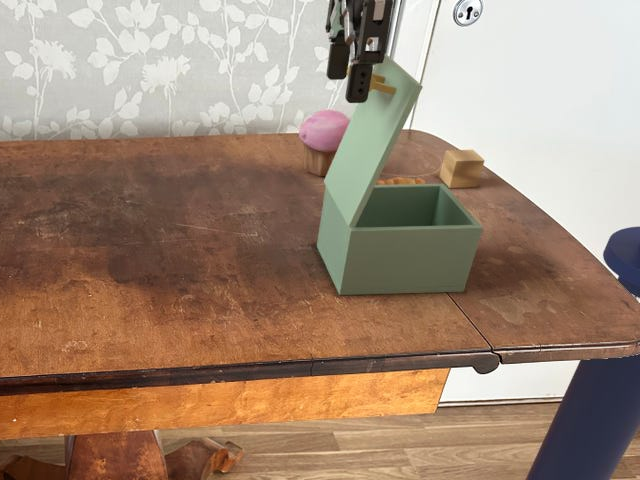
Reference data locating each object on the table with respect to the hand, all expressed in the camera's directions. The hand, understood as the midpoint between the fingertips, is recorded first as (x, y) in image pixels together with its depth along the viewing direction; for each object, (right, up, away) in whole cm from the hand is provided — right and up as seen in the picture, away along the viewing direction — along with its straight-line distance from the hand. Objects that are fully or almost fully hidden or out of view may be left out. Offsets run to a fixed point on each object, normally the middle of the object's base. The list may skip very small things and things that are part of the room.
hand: (345, 89), depth 78 cm
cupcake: (+6, +1, +39) cm, 40 cm away
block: (+28, -1, +36) cm, 45 cm away
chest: (+9, -18, +14) cm, 25 cm away
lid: (+4, -4, +4) cm, 7 cm away
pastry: (+16, -6, +30) cm, 34 cm away
